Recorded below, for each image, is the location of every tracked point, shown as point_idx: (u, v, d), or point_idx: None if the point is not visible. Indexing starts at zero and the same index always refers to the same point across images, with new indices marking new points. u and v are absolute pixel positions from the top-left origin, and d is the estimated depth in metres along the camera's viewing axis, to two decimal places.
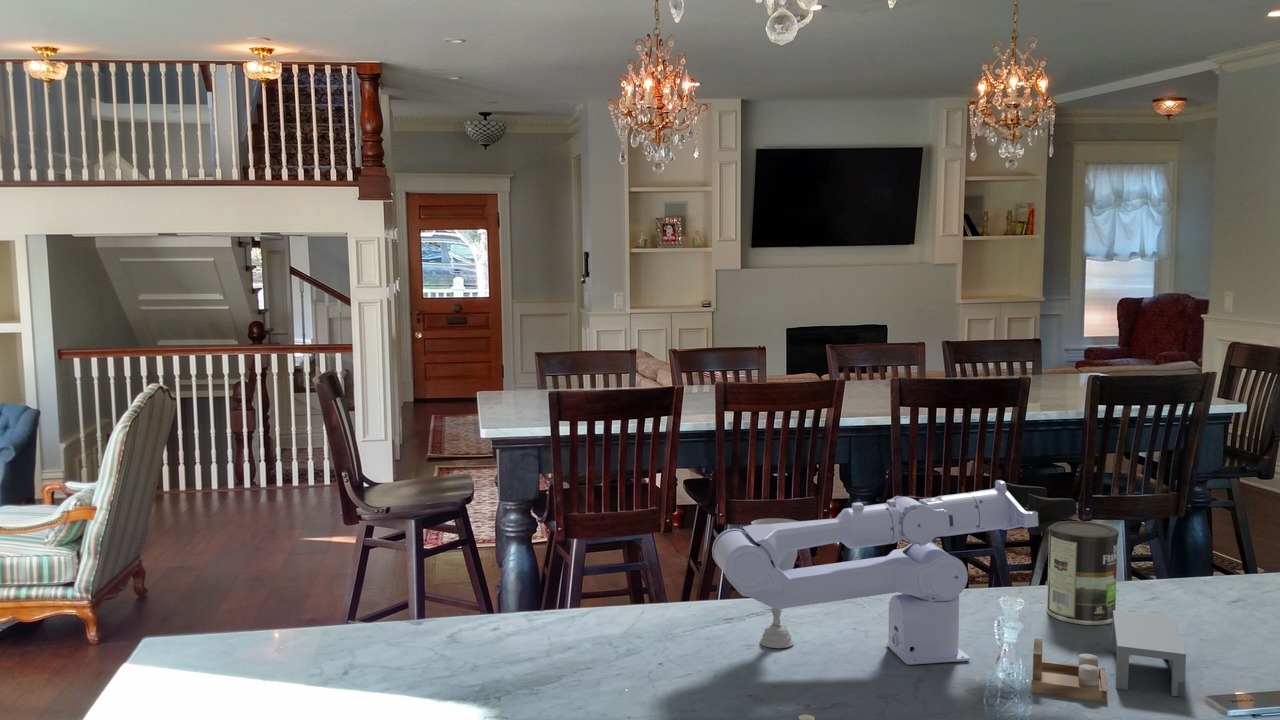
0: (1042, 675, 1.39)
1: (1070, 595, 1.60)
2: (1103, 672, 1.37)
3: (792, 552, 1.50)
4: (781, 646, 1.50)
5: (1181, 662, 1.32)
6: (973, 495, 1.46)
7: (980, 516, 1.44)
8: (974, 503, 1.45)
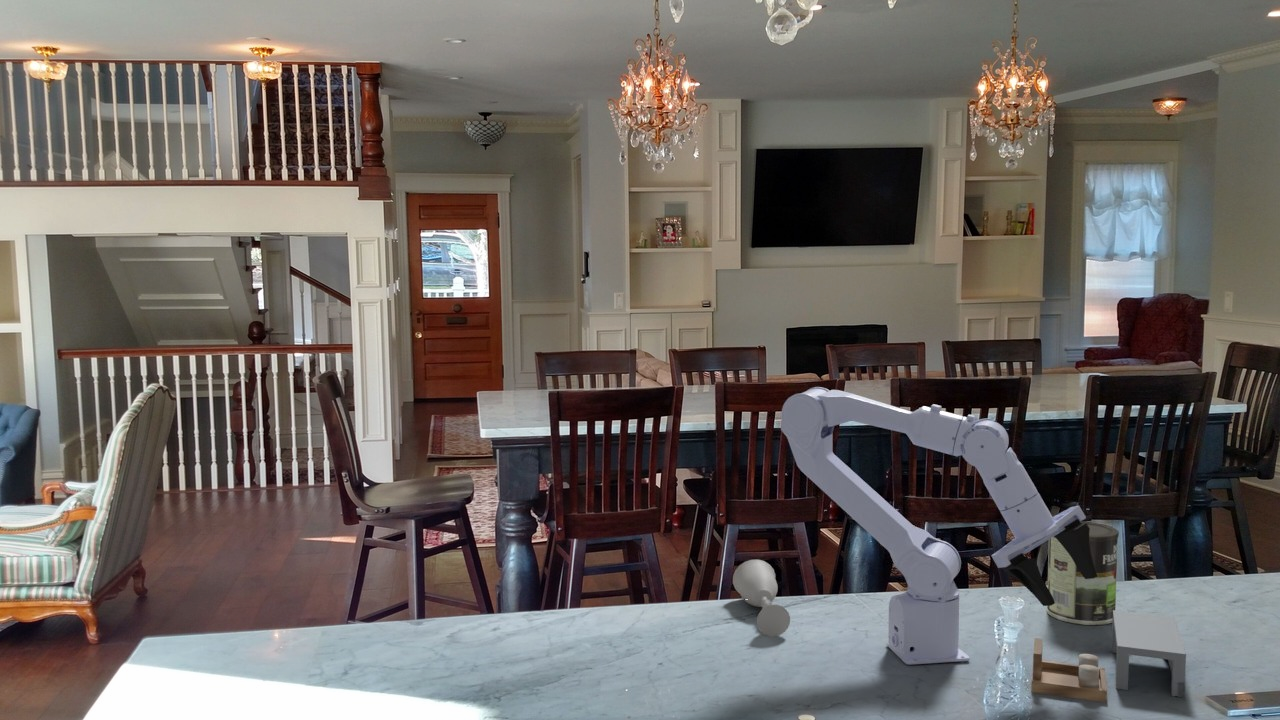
0: (1042, 674, 1.39)
1: (1070, 595, 1.60)
2: (1103, 672, 1.37)
3: (770, 574, 1.69)
4: None
5: (1181, 662, 1.32)
6: (1024, 503, 1.38)
7: (1003, 511, 1.40)
8: (1028, 496, 1.39)
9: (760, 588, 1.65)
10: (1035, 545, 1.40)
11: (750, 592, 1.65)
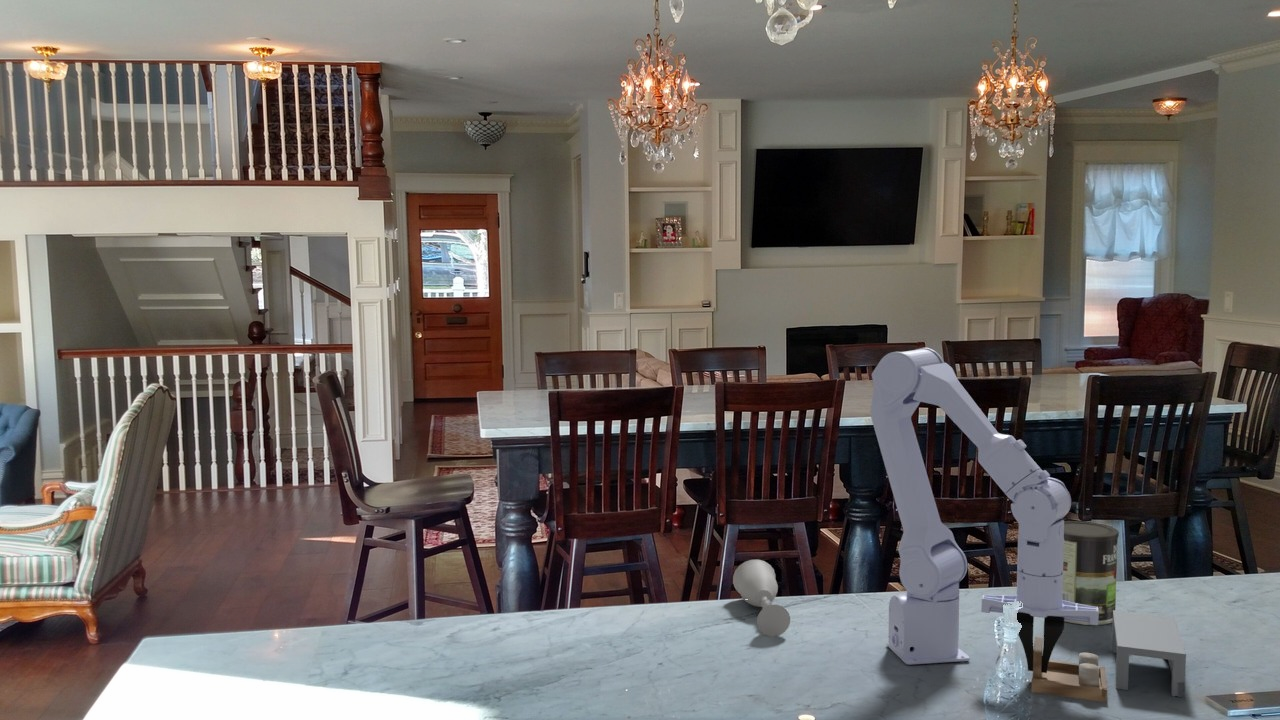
0: (1042, 673, 1.39)
1: (1070, 595, 1.60)
2: (1103, 671, 1.37)
3: (770, 574, 1.69)
4: None
5: (1181, 662, 1.32)
6: (1031, 576, 1.35)
7: (1017, 569, 1.38)
8: (1048, 574, 1.34)
9: (760, 588, 1.65)
10: (1028, 614, 1.38)
11: (750, 592, 1.65)
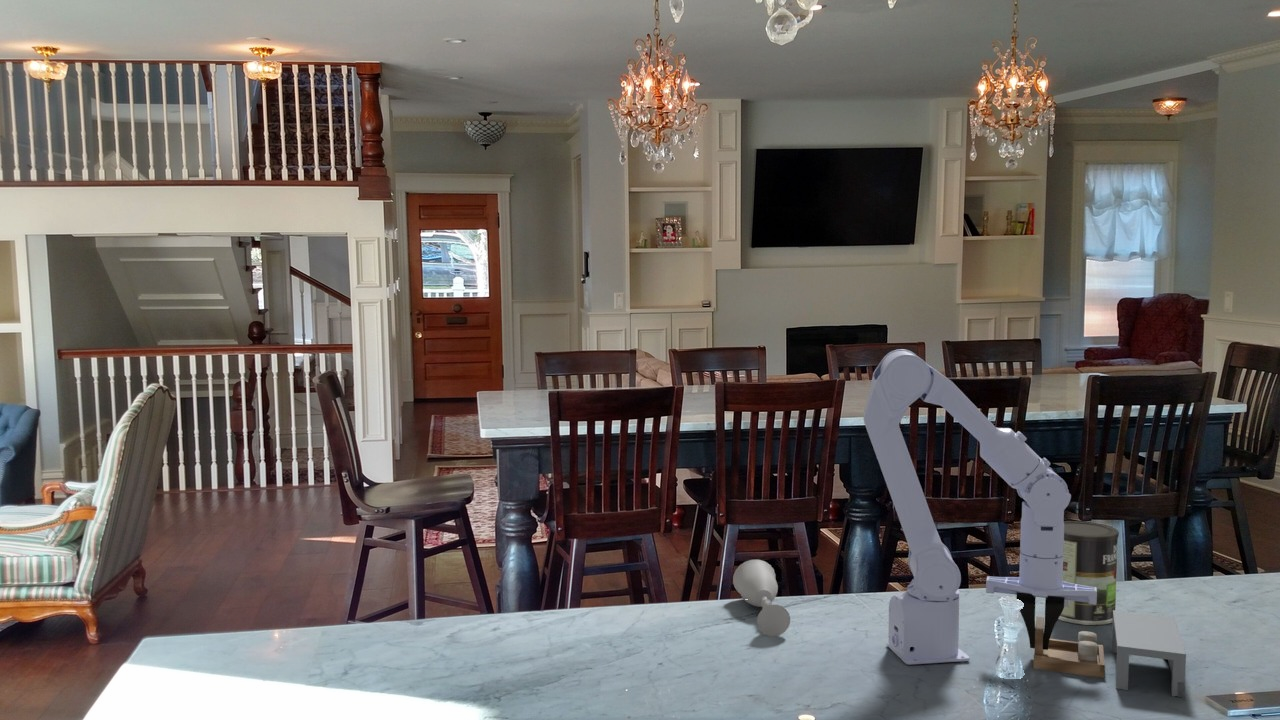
0: (1044, 651, 1.47)
1: None
2: (1101, 648, 1.45)
3: (770, 574, 1.69)
4: None
5: (1181, 662, 1.32)
6: (1033, 558, 1.42)
7: (1020, 551, 1.46)
8: (1059, 555, 1.42)
9: (760, 588, 1.65)
10: None
11: (750, 592, 1.65)
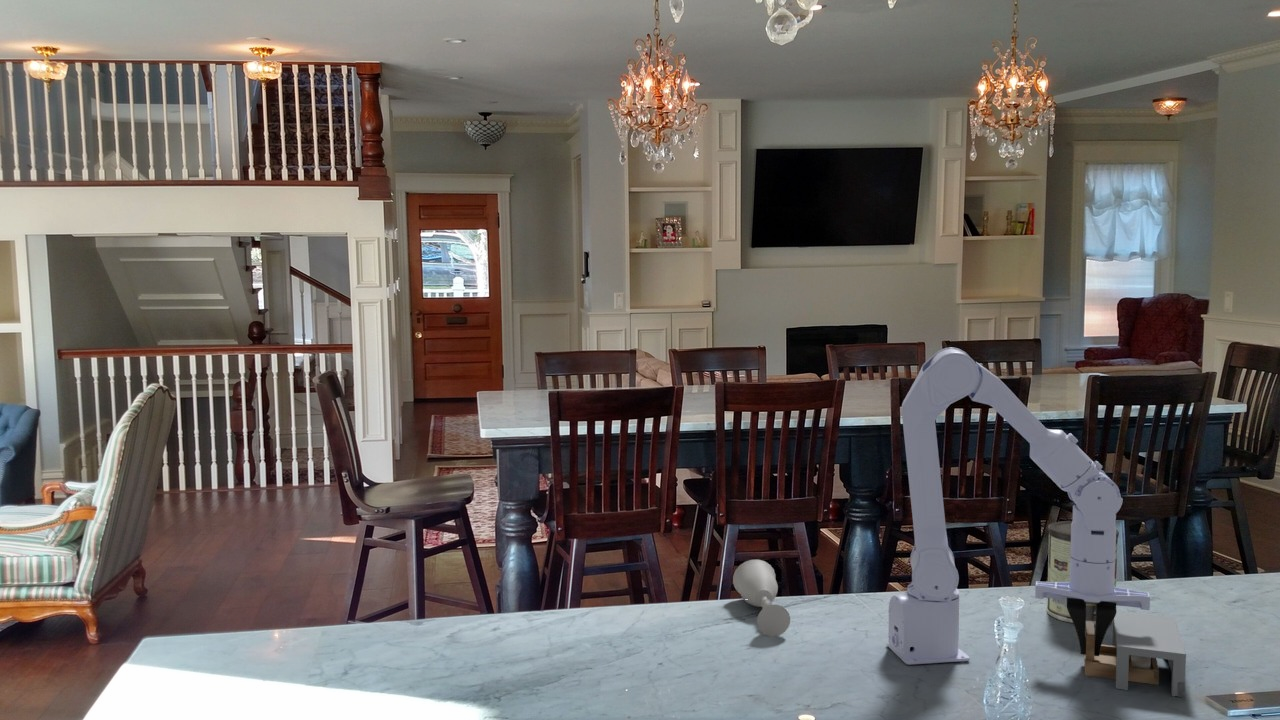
0: (1094, 657, 1.44)
1: None
2: None
3: (770, 574, 1.69)
4: None
5: (1181, 662, 1.32)
6: (1085, 563, 1.40)
7: (1070, 556, 1.43)
8: (1110, 560, 1.40)
9: (760, 588, 1.65)
10: None
11: (750, 592, 1.65)
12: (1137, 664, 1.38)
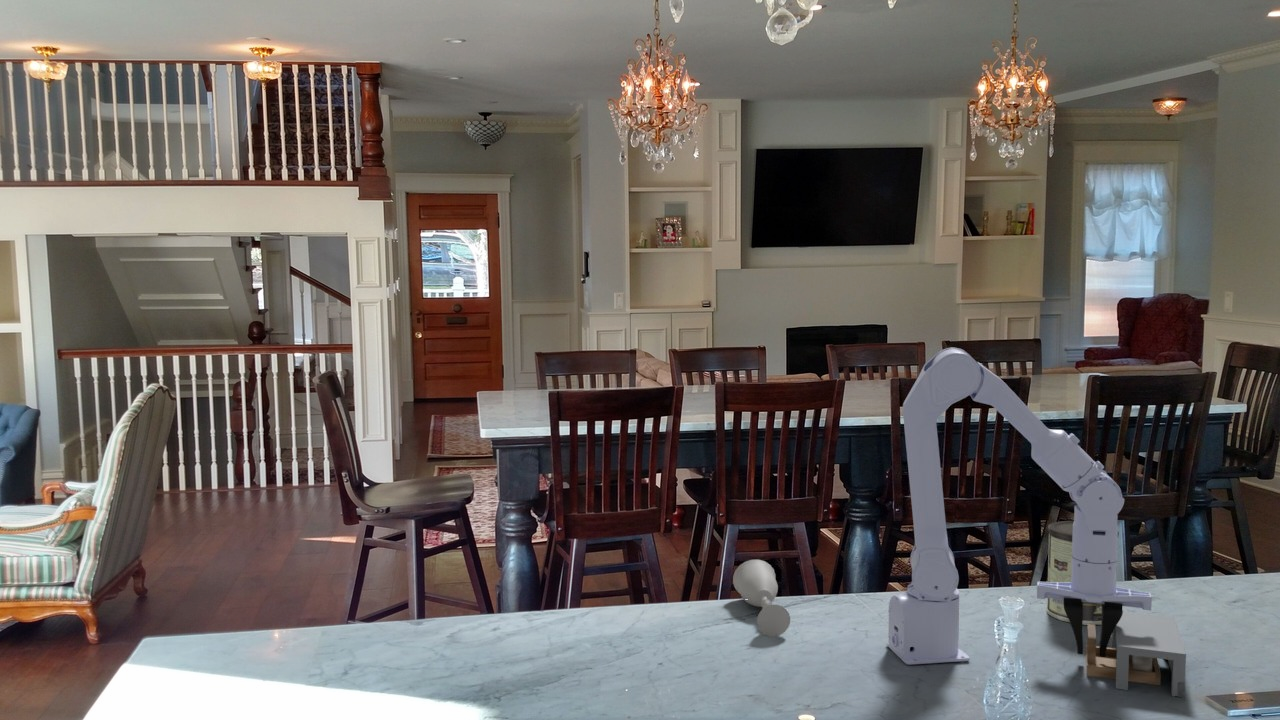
0: (1095, 659, 1.44)
1: None
2: None
3: (770, 574, 1.69)
4: None
5: (1181, 662, 1.32)
6: (1087, 563, 1.40)
7: (1072, 556, 1.43)
8: (1112, 560, 1.39)
9: (760, 588, 1.65)
10: (1082, 600, 1.43)
11: (750, 592, 1.65)
12: (1139, 667, 1.38)
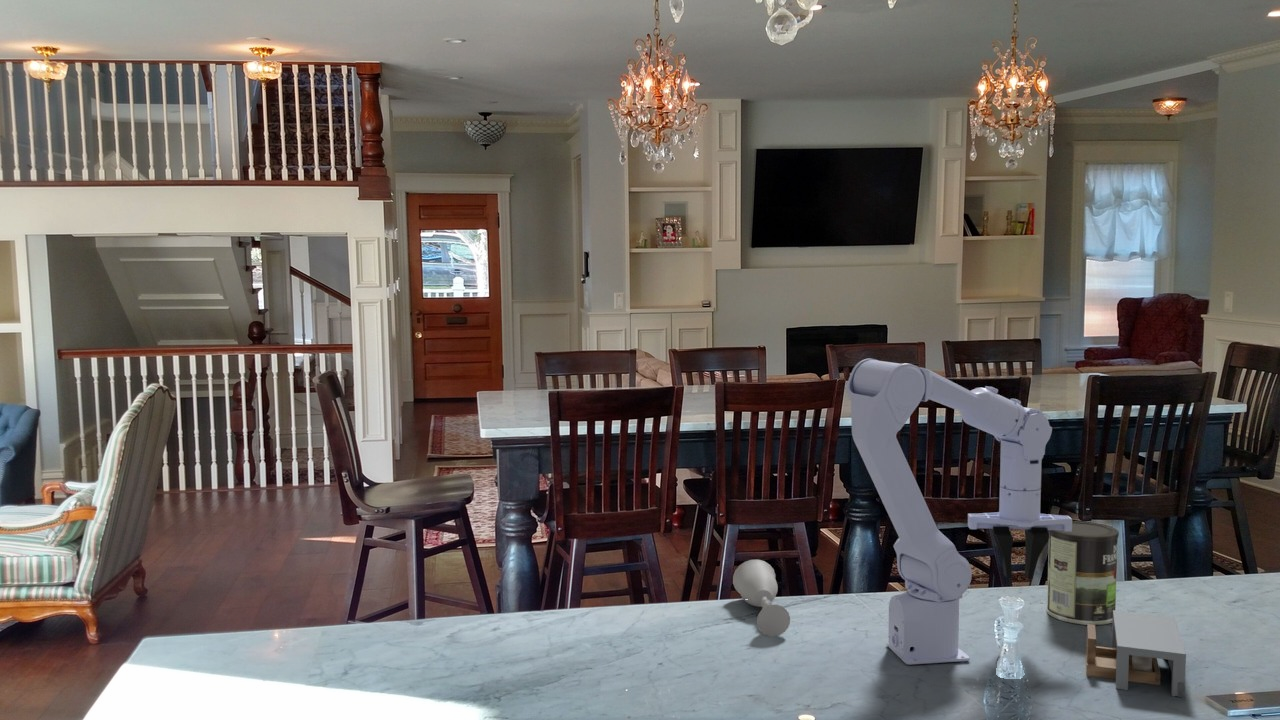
0: (1095, 659, 1.44)
1: (1070, 595, 1.60)
2: None
3: (770, 574, 1.69)
4: None
5: (1181, 662, 1.32)
6: (1017, 491, 1.49)
7: (1000, 487, 1.52)
8: (1040, 486, 1.51)
9: (760, 588, 1.65)
10: (1010, 527, 1.52)
11: (750, 592, 1.65)
12: (1138, 667, 1.38)
